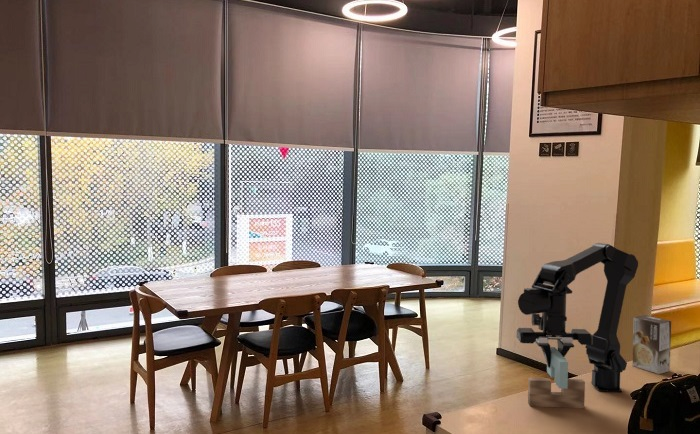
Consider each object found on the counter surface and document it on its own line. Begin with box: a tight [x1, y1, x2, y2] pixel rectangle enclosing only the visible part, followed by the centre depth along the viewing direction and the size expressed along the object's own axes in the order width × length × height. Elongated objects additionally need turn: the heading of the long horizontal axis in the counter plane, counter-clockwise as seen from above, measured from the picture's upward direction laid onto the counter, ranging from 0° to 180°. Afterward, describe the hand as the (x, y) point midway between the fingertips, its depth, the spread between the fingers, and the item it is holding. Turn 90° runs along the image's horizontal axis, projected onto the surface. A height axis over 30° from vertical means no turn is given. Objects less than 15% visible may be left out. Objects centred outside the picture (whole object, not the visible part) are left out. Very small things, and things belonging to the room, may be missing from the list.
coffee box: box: [632, 314, 672, 375], centre depth 171 cm, size 9×6×16 cm
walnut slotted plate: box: [527, 377, 586, 409], centre depth 143 cm, size 14×2×7 cm, turn 84°
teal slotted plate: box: [546, 346, 569, 390], centre depth 143 cm, size 12×2×7 cm, turn 174°
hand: (553, 367), depth 147 cm, fingers closed on teal slotted plate, 2 cm apart
